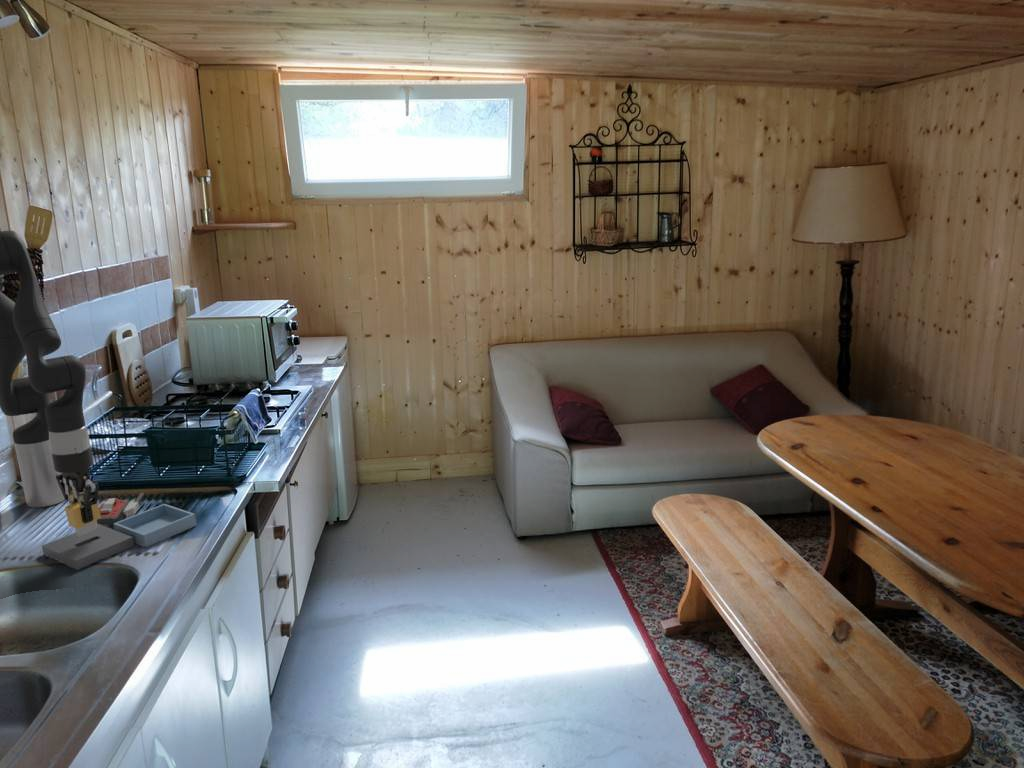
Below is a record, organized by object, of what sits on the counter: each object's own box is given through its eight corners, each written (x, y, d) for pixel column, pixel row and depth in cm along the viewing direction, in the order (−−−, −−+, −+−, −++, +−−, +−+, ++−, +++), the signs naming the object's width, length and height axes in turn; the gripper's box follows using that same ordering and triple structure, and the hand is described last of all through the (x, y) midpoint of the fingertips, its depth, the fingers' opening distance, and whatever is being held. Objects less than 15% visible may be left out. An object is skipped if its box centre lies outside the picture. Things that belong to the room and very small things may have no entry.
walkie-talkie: (126, 530, 187) (147, 497, 206) (123, 513, 186) (145, 482, 205) (86, 534, 186) (111, 501, 205) (83, 517, 184) (109, 485, 203)
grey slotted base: (43, 554, 175) (41, 545, 174) (100, 532, 185) (98, 523, 185) (77, 570, 168) (75, 560, 167) (134, 545, 178) (132, 537, 177)
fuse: (71, 535, 174) (64, 507, 172) (95, 524, 179) (89, 497, 177) (79, 538, 173) (72, 510, 171) (103, 527, 177) (96, 499, 175)
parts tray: (115, 535, 184) (113, 523, 183) (166, 514, 194) (164, 503, 193) (145, 547, 177) (143, 535, 176) (196, 525, 188) (194, 513, 187)
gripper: (36, 447, 171) (50, 519, 175) (70, 458, 163) (84, 533, 168) (70, 437, 177) (83, 507, 182) (105, 447, 170) (118, 520, 174)
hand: (84, 519), depth 175 cm, fingers closed on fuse, 2 cm apart
